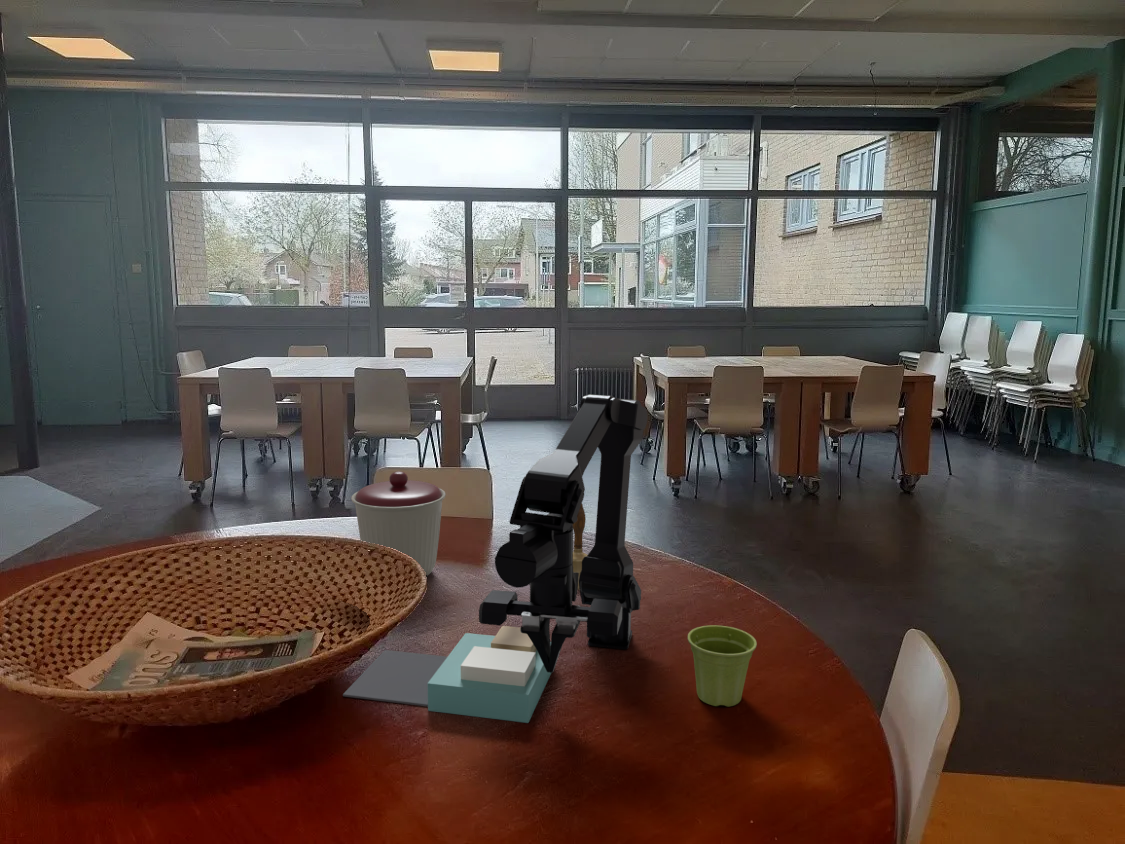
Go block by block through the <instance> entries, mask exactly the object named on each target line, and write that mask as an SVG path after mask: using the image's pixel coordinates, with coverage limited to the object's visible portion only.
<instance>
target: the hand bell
mask: <svg viewBox="0 0 1125 844" xmlns="http://www.w3.org/2000/svg"><path fill="white" fill-rule="evenodd" d="M586 521H587V520H586V513H585V509H584V506H583V503H582V504H581V507H580V509H579V512H578V515H577V521H576V522H575V523H574V524H573V572H577V573H579V576H580V573H581V570H582V560H583V558H584V557H585V556H587V555H588V554H587V553H585V552H584V551H583V547H584V546H583V533H584V531H585V527H586ZM578 591H580V589H579V577H578Z"/></svg>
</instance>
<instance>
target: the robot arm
mask: <svg viewBox="0 0 1125 844" xmlns="http://www.w3.org/2000/svg"><path fill="white" fill-rule="evenodd" d="M647 423H648V411H647V409H646V407H644V406H642V403H641V401H640V400H637V399H626V398H617V397H614V396H612V395H605V394H604V395H603V394H601V395H600V394H587V395H584V396H583V397H582V398H581V401H580V406H579V410H578V412H577V413H576V415H575V417H574V418H573V419H572V421H571V423H570V425H569V426H568V428H567V430H566V431H565V432H564V434H563V436H562V437H561V439H560V441H559V443H558V444H557V445H556V447H555V449H554V451H553V452H552V453H550V454H549V455H548V454H547V455H546V456H544V457H542V458H539V459H538V460H537V461H536V462H535V463H534V464H533V465H532V466H531V467H530V469H529V470H528V471H527V472H526V474H525V475H524V477H523V478H522V481H521V483H520V486H519V490H518V493H517V496H516V500H515V503H514V505H513V509H512V512H511V515H510V519H509V524H510V525H512V526H519V528H518V529H513V530H512V531H510V532H509V534H508V538H509V539H508V541H506V542H505V543H504V544H502V545H501V546H500V547H499V549H498V550H497V552H496V554H495V555H496V556H495V558H494V564H495V565H494V567H495V570H496V573H497V575H498V576H499V578H500V579H501V580H502V581H503V582H504V583H505V584H507V585H508V586H510V587H513V588H516V589H517V588H524V587H528V585H529V601H524V600H522V601H521V600H518V597H519V596H518V593H517V591H509V590H501V589H499V590H498V589H492V590H491V591H490V592H488V593H487V595H486V596H485V598H484V599H483V600H482V601H481V603H480V604H479V609H478V622H479V623H480V624H481V625H491V626H492V625H493V626H502V625H503V624H504V623H505V622H506V621H507V620H508V616H519V617H521V621H522V623H521V624H522V625H521V627H520V631H521V633H525V634H527V635H528V636H529V638H530V640H531V641H532V643H533V644H534V646H535V648H536V649H537V651H538V653H539V656H540V658H541V660H542V662H543V664H544V667H545V669H546V671H547V672H550V673H551V674H552V673H554V670H555V668H556V665H557V662H558V660H559V656H560V654H561V650H562V648H563V645H564V643H565V641H566V639H567V638H568V639H571V638H574V637H576V636H575V635H576V634H577V631H578V629H579V626H580V624H581V622H584V623H585V622H586V637H587V638H588V641H587V645H588V646H590V647H597V648H598V647H599V648H609V649H619V650H628V649H629V648H630V647H629V646H630V643H631V639H632V636H633V630H632V629H631V627H632V626H631V622H632V612H633V611H634V612H635V611H639V610H640V609H641V600H642V589H641V587H640V585H639V583H638V581H637V578H635V577H636V576H634V562H633V559H632V557H631V556H630V554H629V551H628V550H627V548H626V545H625V543H626V542H625V541H626V528H627V517H628V516H627V515H628V503H629V502H628V500H629V491H630V490H629V489H630V476H631V475H630V472H631V460H632V455H633V454H634V452H635V450H636V449H637V448H638V446H639V445H640V444H641V442H642V441H643V436H644V432H645V431H644V430H645V429H646V426H647ZM597 449H598V450H599V452H600V463H599V464H600V465H599V480H598V494H597V506H596V507H597V508H596V524H595V536H594V539H595V540H594V545H593V547H592V548H591V549H590V551H589V553H588V554H587V556H585V557H584V558H583V560H582V570H581V573H580V576H579V573H577V572H573V551H574V530H573V524H574V523H575V522H576V521H577V515H578V512H579V509H580V507H581V504H583V501H584V497H585V491H586V488H585V483H584V480H583V479H584V478H583V475H584V473H585V472H586V471H585V470H586V469H587V467H588V465H589V464H590V463H591V460H592V458H593V456H594V454H595V452H596V451H597ZM527 510H529V511H532V512H527ZM535 512H536V513H535ZM537 512H539V513H537ZM543 513H547V514H543ZM578 577H579V589H580V590H578ZM578 592H579V593H580V594H579V595H580V600H581V604H582V605H586V606H580V605H578V604H573V602H576V600H577V595H578ZM587 605H588V606H587ZM551 620H555V623H556V624H555V625H554V628H553V630H552V632H550V622H551ZM550 633H551V634H550ZM550 642H551V643H550Z"/></svg>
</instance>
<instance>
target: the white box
mask: <svg viewBox="0 0 1125 844" xmlns="http://www.w3.org/2000/svg"><path fill="white" fill-rule="evenodd" d="M534 668H535V652H526V651H516V650H506V649H497V648H487V647H478V646H474V647H473V649H472V650H471V652H470V653H469V654H468V656H467V657H466V659H465V660H464V661H463V663H462V664H461V679H463V680H471V681H480V682H489V683H498V684H507V685H516V686H525V685H526V683H527V681H528V679H529V677H530V675H531V674H532V672H533V670H534Z"/></svg>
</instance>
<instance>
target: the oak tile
mask: <svg viewBox="0 0 1125 844" xmlns="http://www.w3.org/2000/svg"><path fill="white" fill-rule="evenodd" d="M520 628H521V627H517V626H509V625H508V626H507V625H501V628H499V630H498V632H497V633H496V634H495V635H494V636H495V637H494V639H493V640H492V642H491V648H497V649H506V650H516V651H526V652H536V650H537V649H536V648H535V646H534V644H533V643H532V641H531V640H530V638H529V636H528V635H527V634H525V633H521V631H520Z"/></svg>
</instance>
